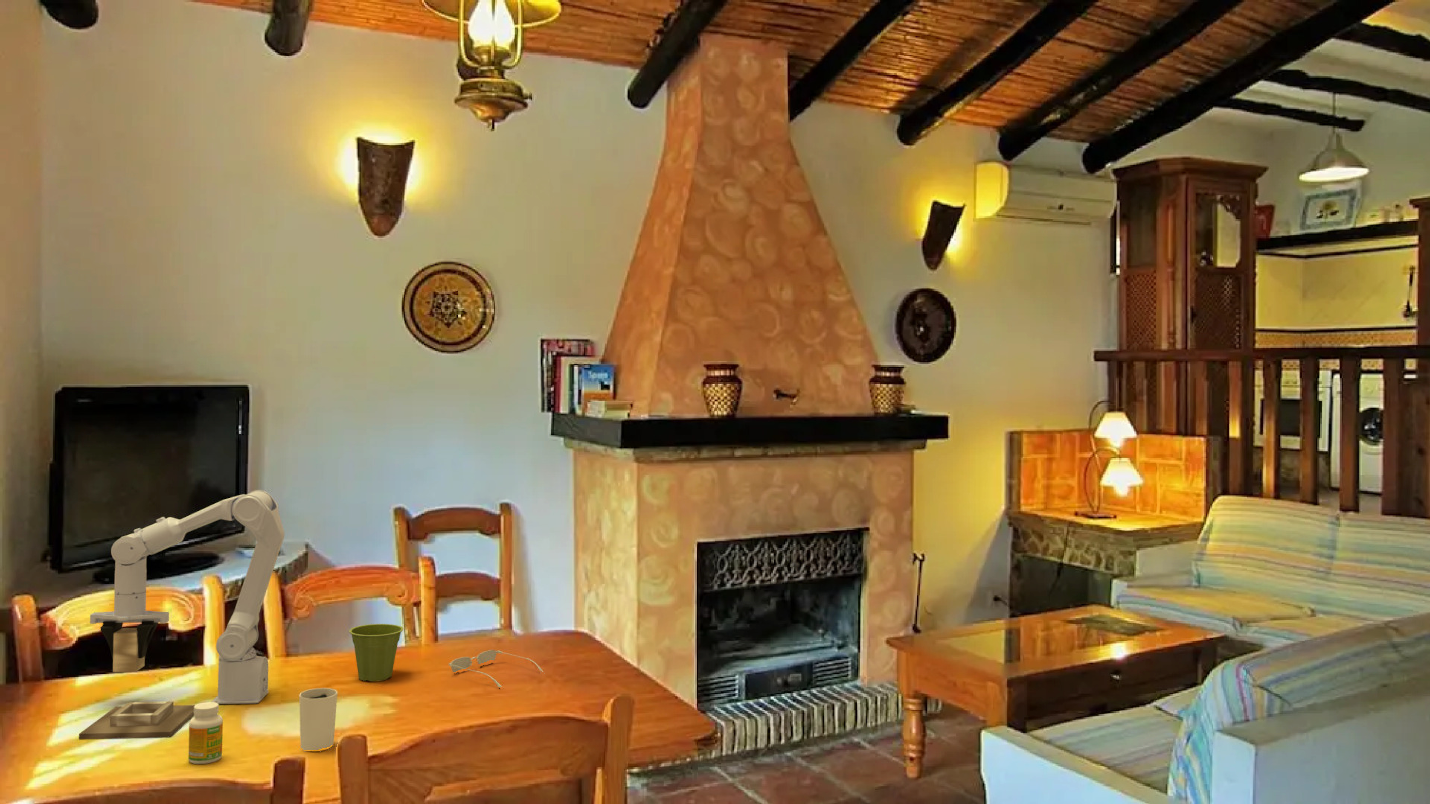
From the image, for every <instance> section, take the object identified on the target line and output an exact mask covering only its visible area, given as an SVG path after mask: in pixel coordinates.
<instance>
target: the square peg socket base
mask: <svg viewBox="0 0 1430 804" xmlns="http://www.w3.org/2000/svg"><path fill="white" fill-rule="evenodd" d="M174 702H175V701H171V700H170V701H131V702H129V701H128V702H127V703H125V704H124V705H123V706H122V705H121V706H118V705H117V706H114V707H113V708H112V709H110V710H109V711H107V712H106V713H105V714H104V715H103V716H100V717H99V718H98V719H97V720H96V721H94V722H93V723H92V724H90V725H89V726H87V727H86V728H84V729H83V730H81V732H79V733H78V740H98V739H99V740H104V739H107V740H108V739H132V738H133V739H137V738H138V739H141V738H142V739H143V738H146V739H147V738H172V737H173V736H174V735H175V734H176V732H178V731H179V730H180V729H181V728H182V727H184V725H185V724H187V722H190V720H191V719H192V718H193V717H195V715H194V706H195V705H196V704H187V705H186V704H183V705H182V704H180V705H177V704H175V705H174Z"/></svg>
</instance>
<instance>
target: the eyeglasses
mask: <svg viewBox="0 0 1430 804" xmlns="http://www.w3.org/2000/svg"><path fill="white" fill-rule="evenodd" d="M497 654H501V655H502V654H506V655H510V656H515V657H517V658H523V659H526V660H527V661H528V660H529V661H531V662H532V663H534V665H536V667H537V668H538V670H539V672H540V671H542V672H544V671H543V669H542V668H541V667H540V665H538V664H537V662H535V661H534V660H532V659H530V658H528V657H523V656H519V655H514V654H511V653H508V652H507V653H506V652H503V651H501V650H496V649H489V650H485V651H481V652H480V653H479V654H477V656H473V657H469V656H462V657H458V658H455V659H453V660H452V661H451V662H449V663H448V666H450V668H451V671H452V673H453V672H456V671H458V670H461V669H466V668H468V667H469V669H467V670H468V671H472V672H474V673H479V674H483V675H485V676H486V677H487V676H488V677H489V678H490V679H491V680H492V681H493V682H494V684H495V685H496V686H498V687H503V686H502V685H501V684H500V683H499V682H498V681H497V680H496V679H495V678H494V677H492V676H491V675H489V674H488V673H485V672H482V671H477V670H474V669H470V667H472V664H473V661H472V660H474V659H476V661H477V664H478V665H479V664H481V663H484V662H487V661H489V660H494V661H495V660H496V657H497ZM498 687H497V688H498Z"/></svg>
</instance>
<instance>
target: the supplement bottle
mask: <svg viewBox="0 0 1430 804" xmlns="http://www.w3.org/2000/svg"><path fill="white" fill-rule="evenodd" d="M194 705H195V706H194V716H193V717H192V718H191V719H190V720H189V724H188V754H187V755H188V759H187V760H188V762H189V763H191V764H194V765H195V764H196V765H205V764H212V763H215V762H217V761H219V760H220V759H221V758H222V756H223V734H224V733H223V730H224V729H223V728H224V727H223V726H224V724H223V723H224V719H223V717H222V716H221V715H220V714H218V713H219V710H220V708H219V707H220V706H219V705H220V704H218V703H215V702H211V701H209V702H208V701H207V702H200V703H197V704H194Z"/></svg>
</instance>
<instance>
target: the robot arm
mask: <svg viewBox="0 0 1430 804" xmlns="http://www.w3.org/2000/svg"><path fill="white" fill-rule="evenodd" d="M219 520H224V521H229V522H230V521H234V520H236V521H237V522H239V523H240V524H241V525H243V526H244V527H246V528H247V529H248V530H249V531H250V532H251V534H252V535H253V536H254V538H255V539H256V544H255V548H254V551H253V554H252V556H251V560H250V563H249V564H248V565H249V566H248V569H247V572H246V575H245V577H244V580H243V584H242V587H241V589H240V593H239V596H238V599H237V602H236V604H235V608H234V610H233V613H232V615H231V616H230V619H229V621H228V623H227V626H226V628H225V630H224V632H223V633H222V634H220V636H219V637H218V638H217V640H216V645H215V647H216V651H217V653H218V654H217V655H218V668H217V669H218V671H217V672H218V675H217V676H218V678H217V679H218V680H217V696H215V697H214V698H213V699H212V700H211V701H210V702H215V703H218V704H219V705H222V704H223V705H227V704H228V705H229V704H230V705H235V704H239V705H240V704H259V703H260V702H261V701H262V700H263V699H264V697H266V695H267V694H268V693H269V692H270V691H269V660H268V658H267V657H266V656H259V655H257V652H256V650H255V648H254V647H253V646H255V644H256V643H257V641H258V639H259V630H258V629H259V628H258V625H259V622H260V612H261V609H262V606H263V602H264V599H265V596H266V593H267V590H268V587H269V584H270V581H271V578H272V575H273V571H274V569H275V566H276V564H277V561H278V556H279V554H280V551H281V547H282V544H283V541H284V539H285V531H284V530H285V529H284V526H283V524H282V523H283V522H282V520H281V516H280V511H279V504H278V503H277V501H276V500H275V499H274V498H273V496H272V495H271V494H270V493H269V492H267V491H266V490H262V489H255V490H252V491H250V492H248V493H247V494H245V493H243V494H240V495H236V496H231V497H230V498H226V499H222V500H219V501H218V502H216V503H214V504H211V505H209V506H207V507H205V508H203V509H200V510H199V511H196V512H193V513H191V514H190V515H188V516H186V517H183V518H181V519H178V518H175V517H171V516H170V517H167V518H166V517H165V516H161V517H160V518H157V519H155V521H156V522H155V523H153V524H151V525H148V526H145V527H144V528H141V527H139V528H136V529H134V530H133V533H130V534H127V535H124V536H123V535H122V536H121V537H120V538H118V539H117V540H116V541H114V543H112V546H111V550H110V553H111V556H112V559H113V560H114V561H115V563H114V564H115V565H114V569H115V570H114V590H113V591H114V594H113V595H114V597H113V599H114V601H113V602H114V603H113V605H114V606H113V611H102V612H101V611H99V612H93V613H90V614H89V616H90V617H89V623H90V625H92V624H93V625H94V624H95V625H96V624H102V626H100V627H99V628H100V632H101V633H102V635H103V636H104V638H105V640H106V642H107V644H108V646H109V649H110V653H111V658H112V660H113V643H114V633H115V632H117V631H119V630H120V629H122V628H123V625H124V623H127V624H128V623H129V624H130V623H131V624H133V623H134V624H135V623H137V624H138V623H139V624H138V625H136V628H137V633H138V642H139V644H138V658H143V657H145V658H146V655H147V651H148V647H149V644H150V641H151V639H152V637H153V634H154V632H155V630H156V628H157V626H158V625H159V623H160V624H166V623H168V622H169V621H170V612H169V611H154V610H146V609H147V572H148V571H147V558H148V556H149V555H151V556H152V555H155V554H157V553H159V552H162V551H163V550H166V549H168V548H170V547H173V546H175V545H177V544H179V543H181V542H183V541H184V538H185V536H186V534H187V533H189V532H191V531H194V530H197V529H198V528H202V527H204V526H206V525H209V524H211V523H214V522H216V521H219Z"/></svg>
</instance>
